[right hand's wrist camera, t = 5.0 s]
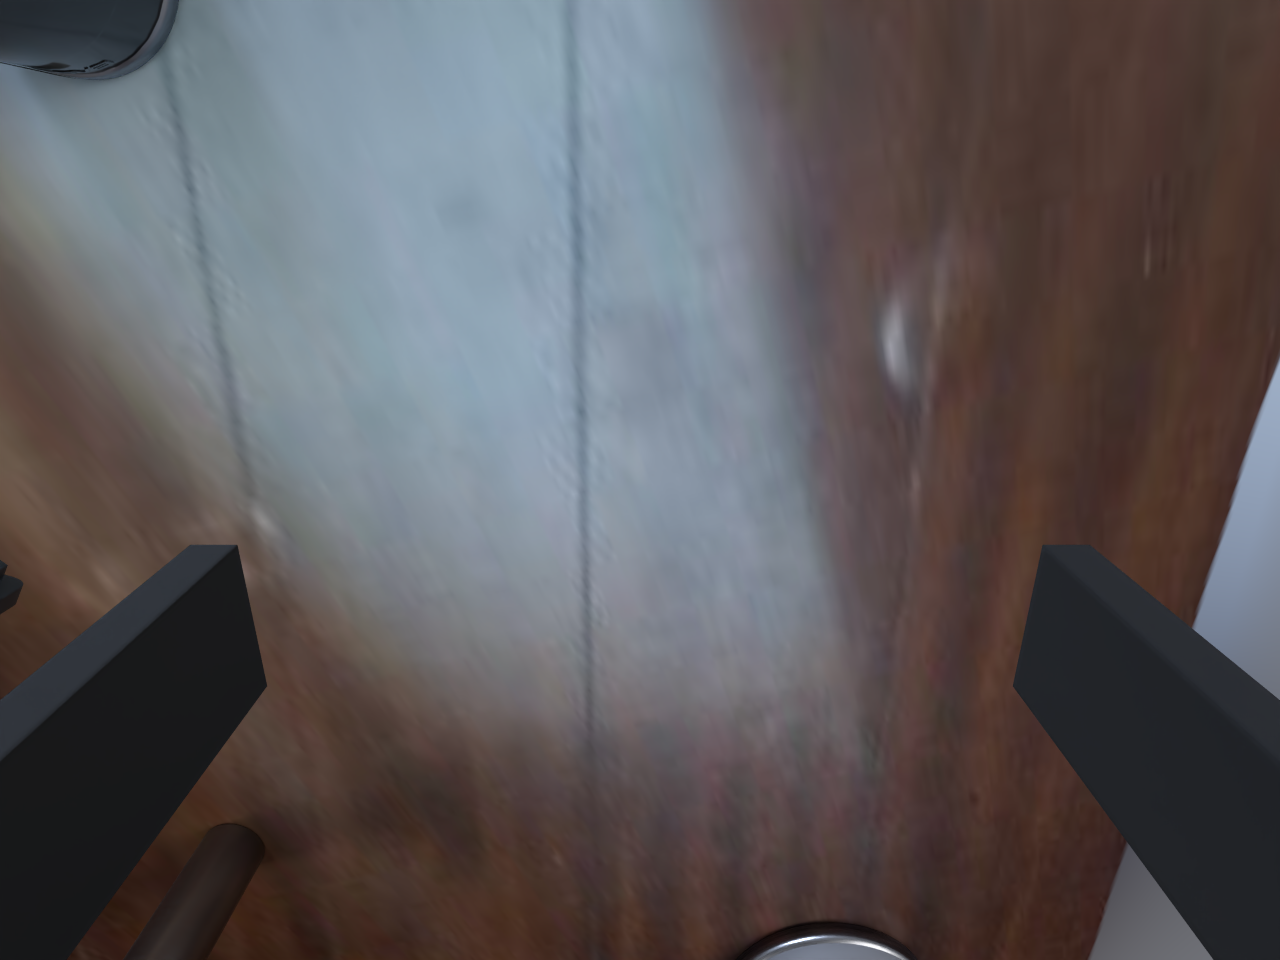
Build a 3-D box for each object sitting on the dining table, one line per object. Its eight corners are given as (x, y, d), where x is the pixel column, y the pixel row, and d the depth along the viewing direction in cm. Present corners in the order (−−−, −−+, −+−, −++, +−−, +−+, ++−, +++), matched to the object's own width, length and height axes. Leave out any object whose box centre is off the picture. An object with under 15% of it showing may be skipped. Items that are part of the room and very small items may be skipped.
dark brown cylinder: (273, 865, 52) (138, 1117, 38) (216, 871, 52) (61, 1124, 38) (253, 820, 51) (106, 1065, 37) (195, 826, 51) (26, 1073, 37)
